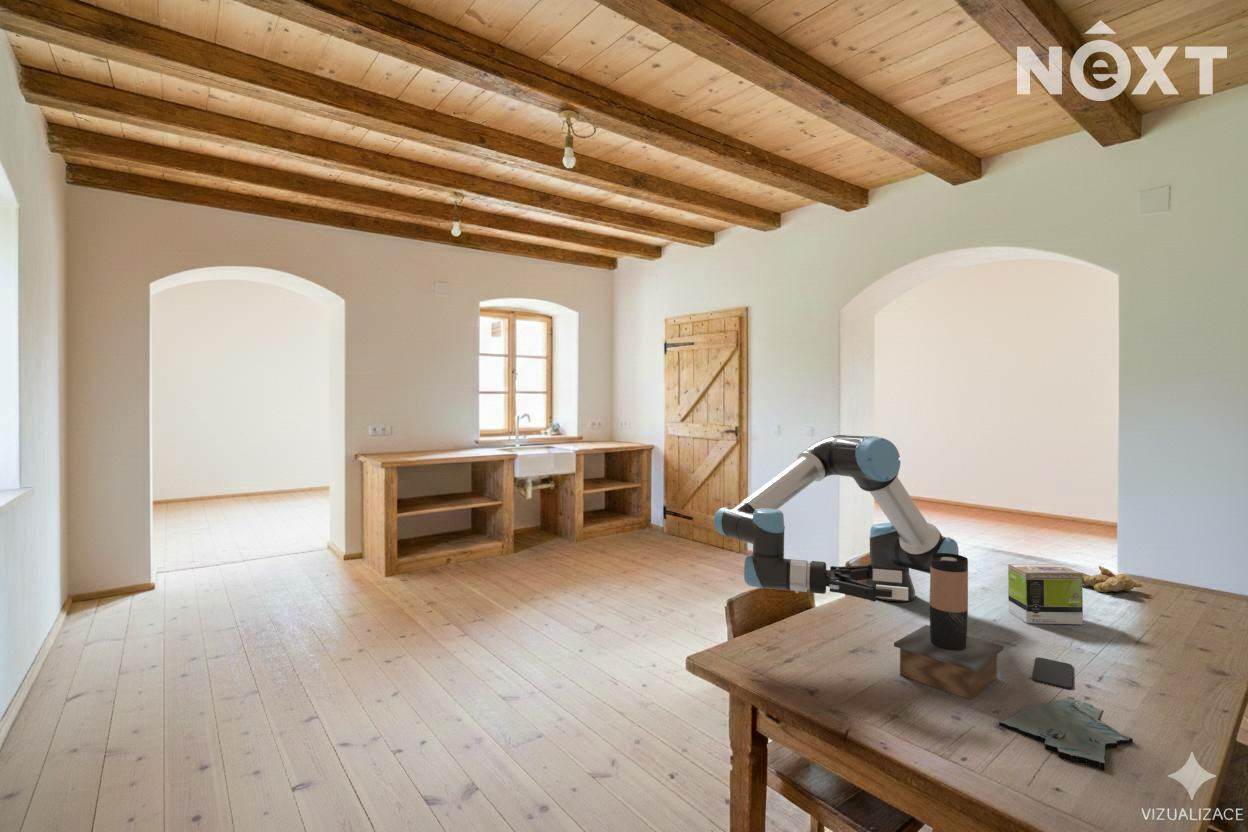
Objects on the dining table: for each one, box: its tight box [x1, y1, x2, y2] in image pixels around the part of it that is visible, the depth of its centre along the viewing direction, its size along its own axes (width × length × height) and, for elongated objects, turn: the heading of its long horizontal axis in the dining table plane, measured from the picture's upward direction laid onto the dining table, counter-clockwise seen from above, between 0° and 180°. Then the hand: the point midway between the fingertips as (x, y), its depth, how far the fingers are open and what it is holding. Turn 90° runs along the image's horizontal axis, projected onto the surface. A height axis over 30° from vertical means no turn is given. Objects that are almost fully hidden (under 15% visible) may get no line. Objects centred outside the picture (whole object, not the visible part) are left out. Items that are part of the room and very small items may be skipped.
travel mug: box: [929, 553, 969, 651], centre depth 137 cm, size 8×8×20 cm
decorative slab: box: [998, 696, 1134, 772], centre depth 115 cm, size 26×24×2 cm
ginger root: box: [1078, 565, 1144, 594], centre depth 198 cm, size 16×16×8 cm
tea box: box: [1007, 563, 1084, 626], centre depth 173 cm, size 15×10×15 cm
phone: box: [1031, 657, 1074, 690], centre depth 139 cm, size 7×1×15 cm
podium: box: [893, 624, 1005, 700], centre depth 137 cm, size 17×17×7 cm
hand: (905, 585), depth 140 cm, fingers open, 13 cm apart
